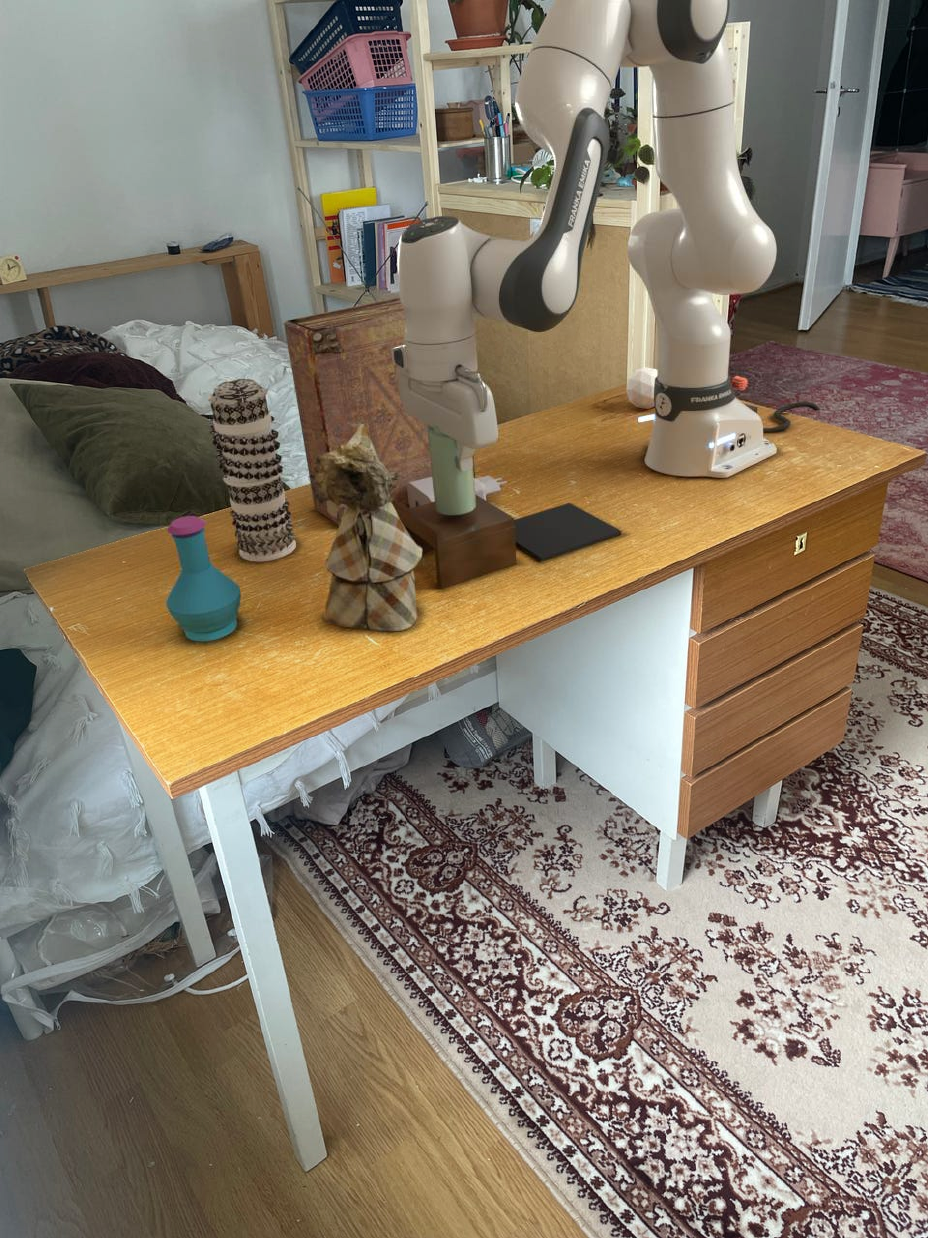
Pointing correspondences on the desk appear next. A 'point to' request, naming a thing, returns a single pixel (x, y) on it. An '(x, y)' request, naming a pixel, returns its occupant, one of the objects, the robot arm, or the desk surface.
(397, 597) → the plush toy
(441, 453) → the bottle
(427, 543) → the shelf
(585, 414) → the desk surface
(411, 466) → the book
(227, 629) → the perfume bottle
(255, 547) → the decorative candle
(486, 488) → the charger
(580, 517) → the mat
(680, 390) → the robot arm
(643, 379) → the geometric ball
